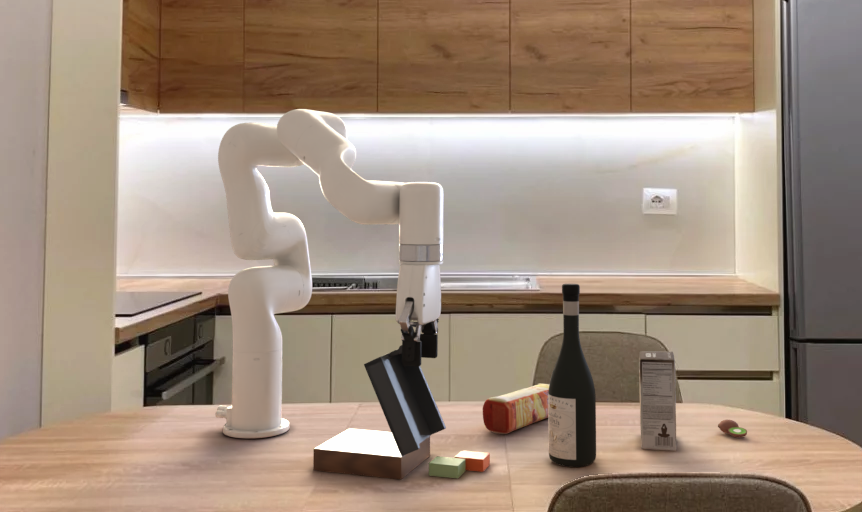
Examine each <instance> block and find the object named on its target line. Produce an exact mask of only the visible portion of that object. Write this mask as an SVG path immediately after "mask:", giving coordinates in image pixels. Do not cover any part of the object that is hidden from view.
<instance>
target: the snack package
mask: <svg viewBox="0 0 862 512" xmlns="http://www.w3.org/2000/svg"><path fill="white" fill-rule="evenodd" d="M549 384H550V383H537V384H535V385H532V386H530V387H524V388H521V389H518V390H515V391H512V392H509V393H505V394H501V395H497V396H493V397H489V398H487V399H486V400H485V401H484V403H483V405H482V420H483V425H484V426H485V428H486V429H487V430H488V431H489V432H492V433H494V434H499V435H507V434H510V433H511V432H514V431H517V430H518V429H519V430H520V429H522V428H524V427H526V426H529V425H532V424H535V423H537V422H540V421H542V420H545V419H548V391H549Z"/></svg>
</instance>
